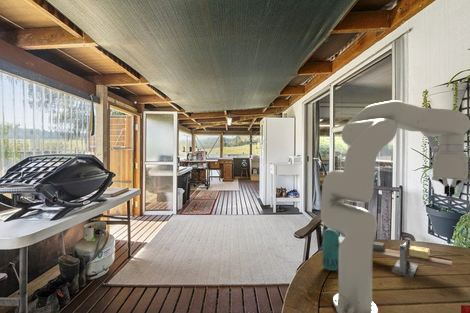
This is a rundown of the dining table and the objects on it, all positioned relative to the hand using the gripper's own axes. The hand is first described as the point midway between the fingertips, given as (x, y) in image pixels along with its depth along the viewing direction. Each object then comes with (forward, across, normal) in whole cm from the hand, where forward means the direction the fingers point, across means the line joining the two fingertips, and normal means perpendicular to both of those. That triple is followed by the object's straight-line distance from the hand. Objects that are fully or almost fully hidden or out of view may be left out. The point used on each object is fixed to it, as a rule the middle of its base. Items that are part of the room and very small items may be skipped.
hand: (449, 196), depth 95 cm
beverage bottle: (+31, -35, -28) cm, 55 cm away
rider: (+25, -8, -6) cm, 27 cm away
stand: (+31, -13, -6) cm, 34 cm away
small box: (+31, -33, -18) cm, 49 cm away
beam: (+26, -13, -6) cm, 30 cm away
